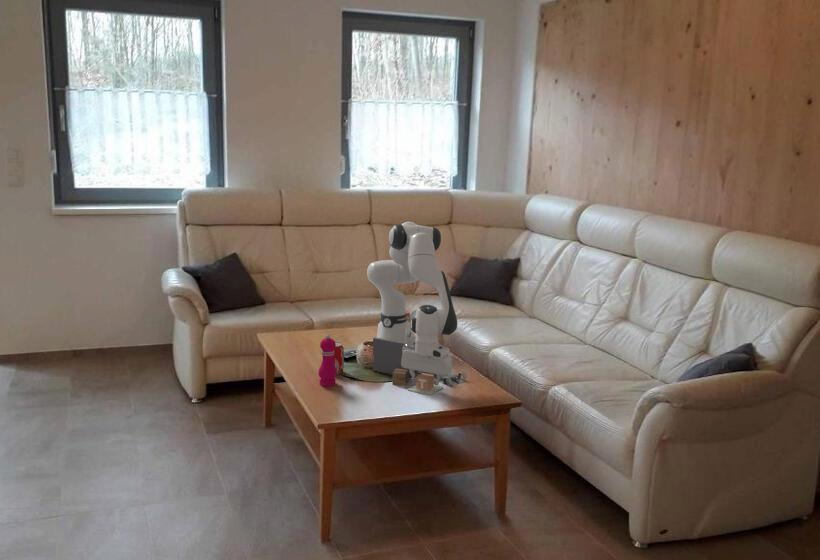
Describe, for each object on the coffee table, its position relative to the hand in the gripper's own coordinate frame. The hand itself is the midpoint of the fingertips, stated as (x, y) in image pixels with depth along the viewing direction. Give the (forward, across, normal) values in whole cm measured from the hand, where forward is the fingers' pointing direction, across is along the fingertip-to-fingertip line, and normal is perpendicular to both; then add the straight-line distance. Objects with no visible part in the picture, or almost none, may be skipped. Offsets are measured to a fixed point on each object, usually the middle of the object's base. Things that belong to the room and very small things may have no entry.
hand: (425, 382), depth 297 cm
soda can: (+3, -40, -2) cm, 40 cm away
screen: (+3, -18, +10) cm, 21 cm away
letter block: (+2, 0, 0) cm, 2 cm away
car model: (+3, -3, +16) cm, 17 cm away
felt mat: (+3, 0, 0) cm, 3 cm away
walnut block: (+3, -12, +1) cm, 12 cm away
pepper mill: (+3, -35, -15) cm, 38 cm away
